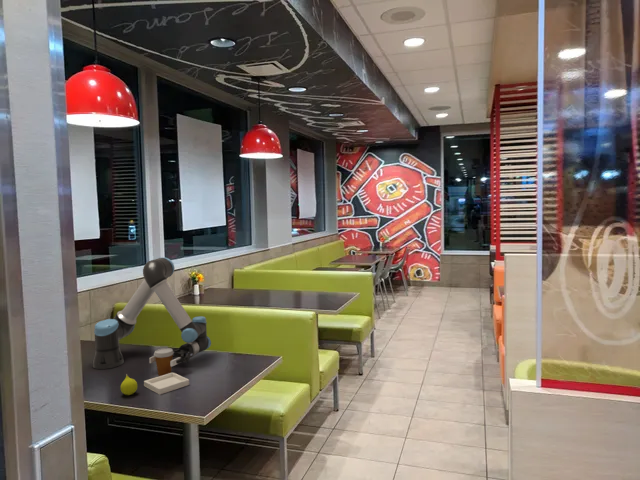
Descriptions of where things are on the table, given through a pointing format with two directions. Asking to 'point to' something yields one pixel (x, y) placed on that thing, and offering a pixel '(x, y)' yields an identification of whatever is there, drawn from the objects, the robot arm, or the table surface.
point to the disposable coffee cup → (163, 360)
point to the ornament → (128, 386)
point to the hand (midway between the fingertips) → (160, 362)
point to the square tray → (166, 383)
